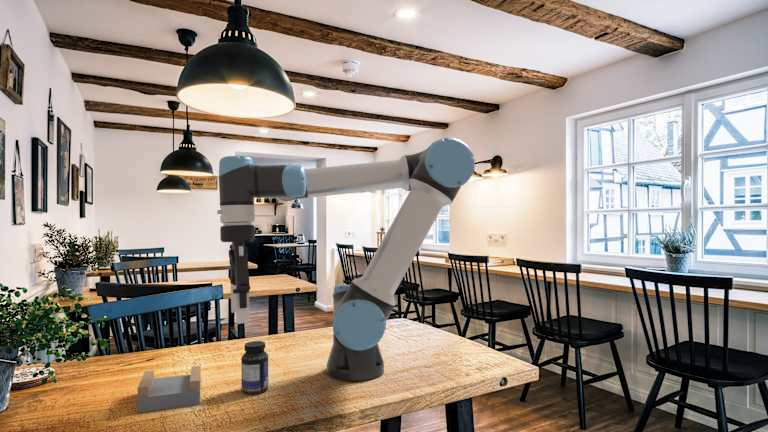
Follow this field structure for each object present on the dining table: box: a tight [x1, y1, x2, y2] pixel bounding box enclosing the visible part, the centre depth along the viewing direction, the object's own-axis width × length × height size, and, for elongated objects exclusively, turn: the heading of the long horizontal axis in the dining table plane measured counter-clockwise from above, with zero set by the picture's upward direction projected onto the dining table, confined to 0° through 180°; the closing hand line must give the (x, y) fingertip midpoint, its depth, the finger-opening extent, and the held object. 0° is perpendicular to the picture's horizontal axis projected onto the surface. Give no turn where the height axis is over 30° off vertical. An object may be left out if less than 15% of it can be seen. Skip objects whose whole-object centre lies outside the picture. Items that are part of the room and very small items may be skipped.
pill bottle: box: [241, 340, 269, 396], centre depth 106 cm, size 6×6×11 cm
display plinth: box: [136, 365, 202, 414], centre depth 102 cm, size 12×12×5 cm
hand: (240, 317), depth 103 cm, fingers open, 13 cm apart
